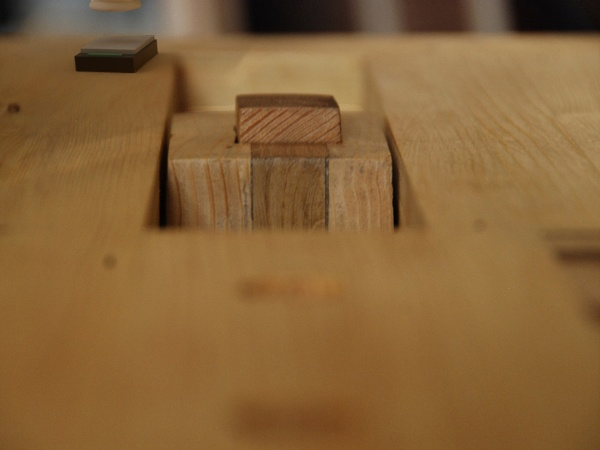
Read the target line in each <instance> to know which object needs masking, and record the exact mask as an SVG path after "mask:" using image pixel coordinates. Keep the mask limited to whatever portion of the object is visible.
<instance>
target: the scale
mask: <svg viewBox="0 0 600 450" xmlns="http://www.w3.org/2000/svg"><path fill="white" fill-rule="evenodd" d="M158 53H159V51H158V39H156V38H155V34H130V33H128V34H127V33H126V34H125V33H124V34H123V33H102V34H101V35H100V36H98V37H97V38H96V37H95V38H94V39H93V40H91V41H90V42H88V43H86V44H85V45H84V46H81V47H80V52H78V53H77V54H76V55H74V66H75V71H76V72H99V73H133V74H134V73H136V72H137V71H138V70H140V69H141V68H142V67H143V66H145V64H147V63H148V62H149V61H150V60H152V59H153V58H154V57H155V56H157V54H158Z"/></svg>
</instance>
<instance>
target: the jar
mask: <svg viewBox="0 0 600 450" xmlns="http://www.w3.org/2000/svg"><path fill="white" fill-rule="evenodd" d="M88 4H89V5H88V7H89V9H90V10H93V11H98V12H109V13H111V12H115V13H116V12H126V11H127V12H128V11H132V10H133V11H134V10H137V9H140V8H141V7H142V2H141V0H90V2H89V3H88Z"/></svg>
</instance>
